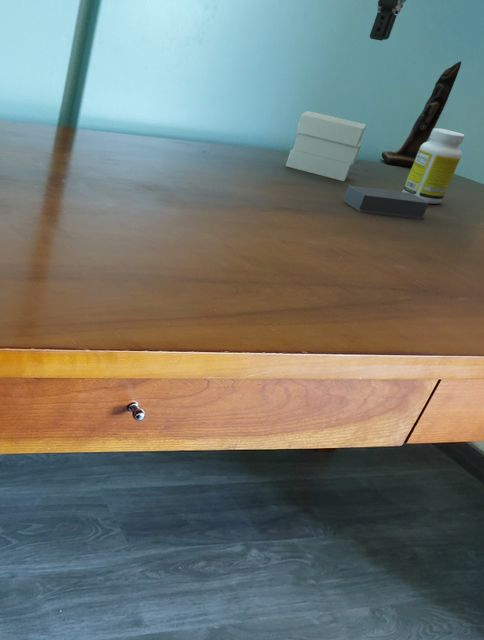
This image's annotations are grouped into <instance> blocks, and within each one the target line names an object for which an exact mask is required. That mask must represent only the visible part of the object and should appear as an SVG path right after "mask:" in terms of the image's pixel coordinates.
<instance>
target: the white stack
mask: <svg viewBox="0 0 484 640" xmlns="http://www.w3.org/2000/svg"><path fill="white" fill-rule="evenodd" d="M297 133H298V132H297ZM362 144H363V143H362V142H360V143H359V144H358V145H357V147H355V146H351V145H347V144H343V143H339V142H335V141H330V140H326V139H322V138H318V137H314V136H310V135H306V134H302V133H298V134H297V136H296V140H295V141H294V145H293V147H292V148H291V149H290V151H289V155H288V158H287V160H286V163H285V167H287V168H291V169H295V170H298V171H302V172H307V173H310V174H313V175H318V176H321V177H325V178H330V179H333V180H336V181H337V180H338V181H340V182H345V181H346V179H347V178H348V176H349V173H350V171H351V169H352V168H351V167H352V165H354V163H355V161H356V160H357V157H358V155H359V152H360V149H361V147H362Z"/></svg>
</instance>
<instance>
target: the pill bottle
mask: <svg viewBox="0 0 484 640" xmlns="http://www.w3.org/2000/svg"><path fill="white" fill-rule="evenodd" d="M429 139H430V140H429V141H428V140H427V142H425V143H423V144H422V145H421V147H420V149H419V151H418V154H417V156H416V159H415V161H414V164H413V166H412V167H410V171H409V174H408V176H407V177H406V181H405V183H404V186H403V188H402V191H401V192H406V193H412V194H414V195H415V196H417V197H419V198H421V199H423V200H424V201H426V202H428V203H429V204H430V205H436V204H440V203H441V202H442V201H443V199H444V198H445V195H446V192H447V190H448V188H449V186H450V183H451V180H452V178H453V177H454V174H455V172H456V170H457V167H458V164H459V163H460V160H461V158H462V151H461V149H460V148H459V145H462V143H463V142H464V139H465V134H463V133H461V132H458V131H454V130H450V129H445V128H441V127H440V128H438V127H437V128H436V127H434V129H433V130H432V132H431V135H430V136H429ZM429 204H428V205H429Z"/></svg>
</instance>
